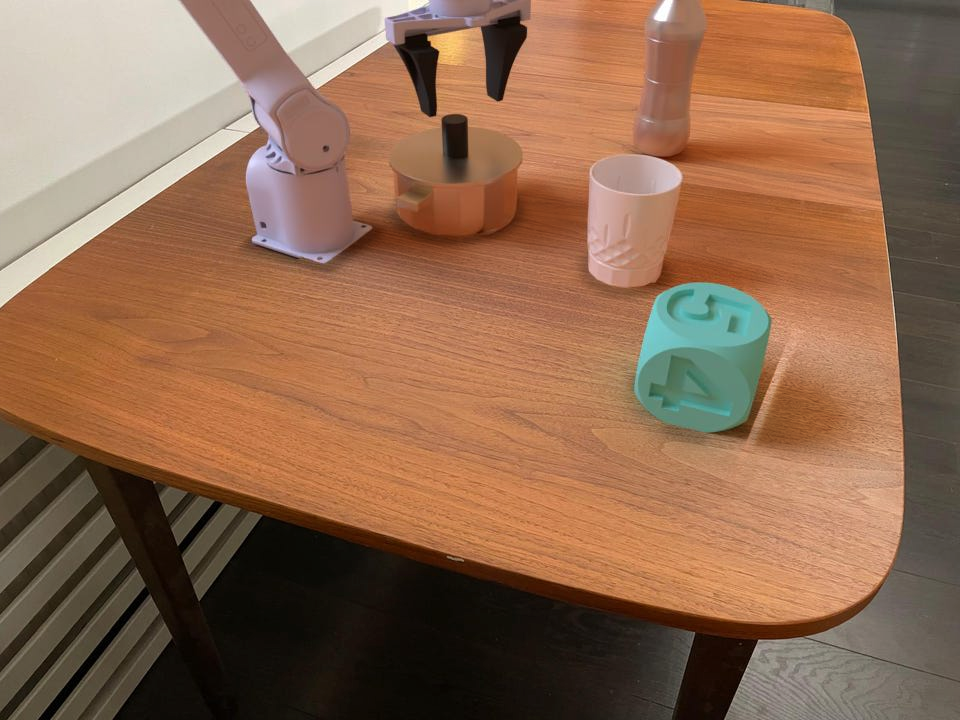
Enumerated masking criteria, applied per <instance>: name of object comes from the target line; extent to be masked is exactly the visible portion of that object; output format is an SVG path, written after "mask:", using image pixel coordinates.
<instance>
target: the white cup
mask: <svg viewBox="0 0 960 720" xmlns="http://www.w3.org/2000/svg"><path fill="white" fill-rule="evenodd" d="M588 179H589V181H588V204H587V243H586V245H587V250H588V251H587V267H588V268H587V269H588V272H589V273H590V274H591V275H592V276H593V277H594V278H595V279H596V280H598V281H600V282H603V283H605V284H607V285H609V286H613V287H619V288H628V289H629V288H636V287H637V288H638V287H645V286H647V285H649V284H651V283H653V284H656V283H657V281H658V280H659V278H660V276H661V273H662V269H663V265H664V260H665V255H666V253H667V250H668V246H669V241H670V238H671V234H672V231H673V226H674V221H675V216H676V213H677V212H676V211H677V207H678V204H679V203H678V202H679V198H680V194H681V189H682V185H683V181H684V176H683V173H682V171H681V170H680V168H678V167H677V166H676V165H674V164H673V163H671V162H670V161H667V160H665V159H662V158H659V157H657V156H653V155H647V154H638V153H637V154H634V153H627V154H626V153H625V154H624V153H623V154H616V155H610V156H607V157H603V158H601V159H599V160H597V161H595V162H594V163H593V165H591V167H590V169H589V177H588Z"/></svg>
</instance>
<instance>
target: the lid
mask: <svg viewBox="0 0 960 720" xmlns="http://www.w3.org/2000/svg"><path fill="white" fill-rule="evenodd" d="M440 120H441V127H436V128H431V129H426V130H421V131H418V132H415V133H412V134H410V135H407V136H405V137H403V138H401V139H400V140H398V141H397V142H396V143H395V144H394V145H393V146H392V147H391V149H390V150H389V153H388V164H389V167H390V169H391V170H392V172H393V171H394V172H395V173H396V174H397V175H399V176H400V177H402V178H404V179H405V180H408V181H410V182H413V183H416V184H419V185H424V186H429V187H436V188H469V187H477V186H482V185H486V184H491V183H494V182H497V181H499V180H502V179H504V178H506V177H508V176H510V175H511V174H513V173H514V172H515V171H516V170H517V169H518V170H519V168H520V167H521V165H522V163H523V159H524V158H523V155H524V154H523V149H522V147H521V146H520V145H521V144H519V143H518V142H517V141H515V139H513V138H512V137H510V136H508V135H507V134H503V133H502V132H498V131H495V130H491V129H487V128H481V127H473V126H469V119H468V116H466V115H464V114H461V113H450V114H446V115H443V116H442V117H441V119H440ZM506 135H507V136H506Z"/></svg>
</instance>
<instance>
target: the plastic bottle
mask: <svg viewBox="0 0 960 720" xmlns="http://www.w3.org/2000/svg"><path fill="white" fill-rule="evenodd" d="M707 26H708V22H707V16H706V13H705V11H704V7H703V5H702V4H701V1H700V0H657V1H656V2H655V4H654V5H653V6H652V7H651V9H650V10H649V12H648V14H647V16H646V19H645V21H644V55H645V56H644V74H643V85H642V89H641V95H640V99H639V104H638V110H637V112H636V115H635V117H634V121H633V125H632V140H633V141H632V142H633V143H634V146H635V147H636V149H637V150H638V151H639V152H640V153H643V154H644V155H647V156H652V157H672V156H676V155H678V154H680V153H681V152H682V151H683V150H684V149H685V148H686V147H687V144H688V142H689V139H690V137H691V115H690V112H691V101H692V100H691V99H692V86H693V82H694V75H695V71H696V67H697V61H698V58H699V54H700V51H701V48H702V45H703V42H704V38H705V35H706V30H707Z"/></svg>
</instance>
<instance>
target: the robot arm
mask: <svg viewBox="0 0 960 720" xmlns="http://www.w3.org/2000/svg"><path fill="white" fill-rule="evenodd" d="M177 1H178V2H179V4H180V5H181V6H182V7H183V9H184V10H185V11H186V13H187V14H188V16H190V18H191V19H192V21H193V22H194V24H195V25H196V26H197V27H198V29H199V30H200V31H201V32H202V34H203V35H204V36H205V39H207V40H208V41H209V43H210V44H211V46H212V47H213V48H214V50H215V51H216V52H217V53H218V55H219V56H220V57H221V59H222V60H223V61H224V63H225V64H226V65H227V67H229V69H230V71H231V72H232V74H234V76H235V78H236V80H237V81H238V83H239V84H240V85H241V87H242V88H243V90H244V91H245V93H246V94H247V97H248V99H249V105H250V108H251V113H252V116H253V118H254V120H255V122H256V124H257V125H258V126H259V127H260V129H262V130H263V131H264V132H265V133H267V134H268V140H267V143H266V145H262V146H261V147H259V148H258V149H257V150H256V151H254V153H253V154H252V155H251V157H250V158H249V161H248V164H247V167H246V171H245V186H246V190H247V195H248V199H249V204H250V208H251V211H252V217H253V222H254V225H255V230H256V234H255V235H254V236H253V237H252V238H251V243H253V244H254V245H257V246H261V247H264V248H266V249H269V250H273V251H275V252H279V253H282V254H285V255H287V256H291V257H294V258H298V259H301V258H305V259H308V260H311V261H314V262H317V263H320V264H326V263H328V262H330V261H331V260H333V259H335V258H336V257H337V256H338V255H339V254H341V253H342V252H343V251H345V250H346V249H348V248H349V247H350V246H352V244H354V243H356V242H357V241H358V240H359V239H361V238H362V237H363V236H365V235H366V234H367V233H369V232H370V231H371V230H372V229H373V226H372V225H370V224H366V223H362V222H359V221H356V220H354V218H353V217H354V216H353V209H352V202H351V201H352V200H351V194H350V185H349V177H348V169H347V164H346V163H347V162H346V154H345V153H346V151H347V149H348V147H349V145H350V140H351V125H350V122H349V120H348V119H349V118H348V117H347V115H346V113H345V111H344V110H343V109H342V108H341V107H340V106H339V105H337V104H336V103H334V102H333V101H331V100H329V99H328V98H327V97H325V96H324V95H323V94H322V93H321V91H319V90H318V89H316V88H315V87H314V85H313V84H312V83H311V81H310V80H309V78H307V76H306V75H305V74H304V73H303V71H302V70H301V69H300V67H298V65H297V64H296V63H295V62H294V61H293V59H292V58H291V57H290V55H289V54H288V53H287V51H286V50H285V48H283V46H282V44H281V43H280V41H278V39H277V38H276V36H275V35H274V33H273V31H272V30H271V29H270V27H269V26H268V24H267V22H266V21H265V20H264V17H262V15H261V14H260V13H259V11H258V9H257V8H256V7H255V5H254V4H253V2H252V1H251V0H177ZM531 5H532V0H428V4H427V5H424V6H421V7H418V8H414V9H412V10H409V11H405V12H403V13H400V14H396V15H391V16H387V17H384V18H383V20H384V31H385V40H386V41H387V42H389V43H391V44H393V47H394V49H395V50H396V52H397V53H398V55H399V58H400V59H401V60H402V62H403V64H404V66H405V68H406V70H407V73H408V74H409V77H410V79H411V82H412V84H413V87H414V90H415V94H416V97H417V100H418V104H419V107H420V112H421V113H423V114H424V115H426V116H427V117H429V118H433V117H437V113H438V99H437V71H438V64H439V63H438V62H439V57H440V50H439V49H437V48H436V47H434V46H432V42H431V40H429V38H428V37H433V36H438V35H445V34H450V33H454V32H459V31H465V30H471V29H475V28H480V30H481V36H482V42H483V48H484V56H485V87H486V95H487V96H488V97H489V98H491V99H493V100H494V101H496V102H497V103H498V102H501V101H503V100H504V97H505V93H506V87H507V84H508V81H509V78H510V74H511V71H512V68H513V65H514V62H515V60H516V58H517V56H518V54H519V52H520V50H521V49H522V47H523V45H524V43H525V41H526V40H527V39H528V38H527V37H528V26H527V25H525V24H522V23H521V22H525V21H530V20H531V10H532V9H531V8H532V6H531ZM364 226H365V227H364ZM320 258H322V259H320Z"/></svg>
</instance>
